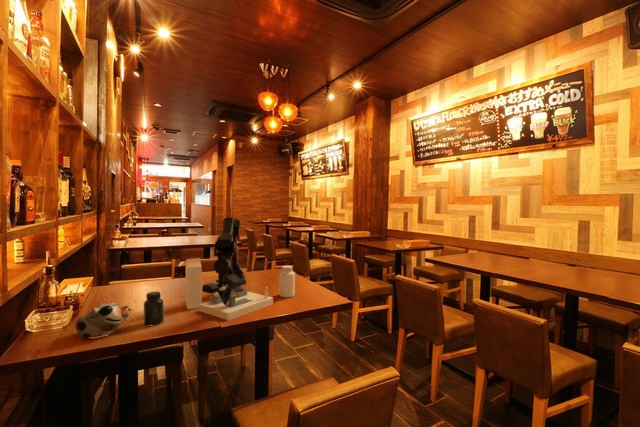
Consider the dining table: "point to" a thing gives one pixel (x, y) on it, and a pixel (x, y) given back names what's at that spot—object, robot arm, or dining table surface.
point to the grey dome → (239, 289)
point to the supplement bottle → (153, 309)
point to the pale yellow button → (216, 295)
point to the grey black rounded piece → (102, 320)
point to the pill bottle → (287, 282)
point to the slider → (231, 300)
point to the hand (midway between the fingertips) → (225, 304)
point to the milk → (193, 283)
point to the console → (236, 304)
